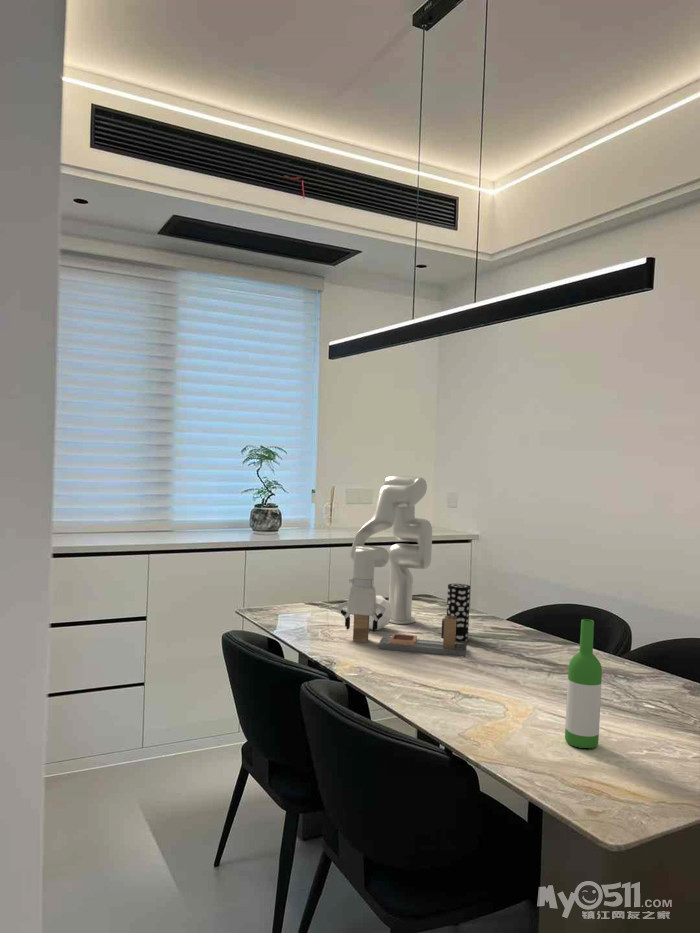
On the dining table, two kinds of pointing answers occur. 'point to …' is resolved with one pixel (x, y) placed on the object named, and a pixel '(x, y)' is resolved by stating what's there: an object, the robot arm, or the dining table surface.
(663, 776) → the dining table surface
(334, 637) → the dining table surface
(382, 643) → the rail
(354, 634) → the gripped brown wooden block
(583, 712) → the wine bottle
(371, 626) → the geodesic sphere
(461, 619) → the white-spotted black cylinder
